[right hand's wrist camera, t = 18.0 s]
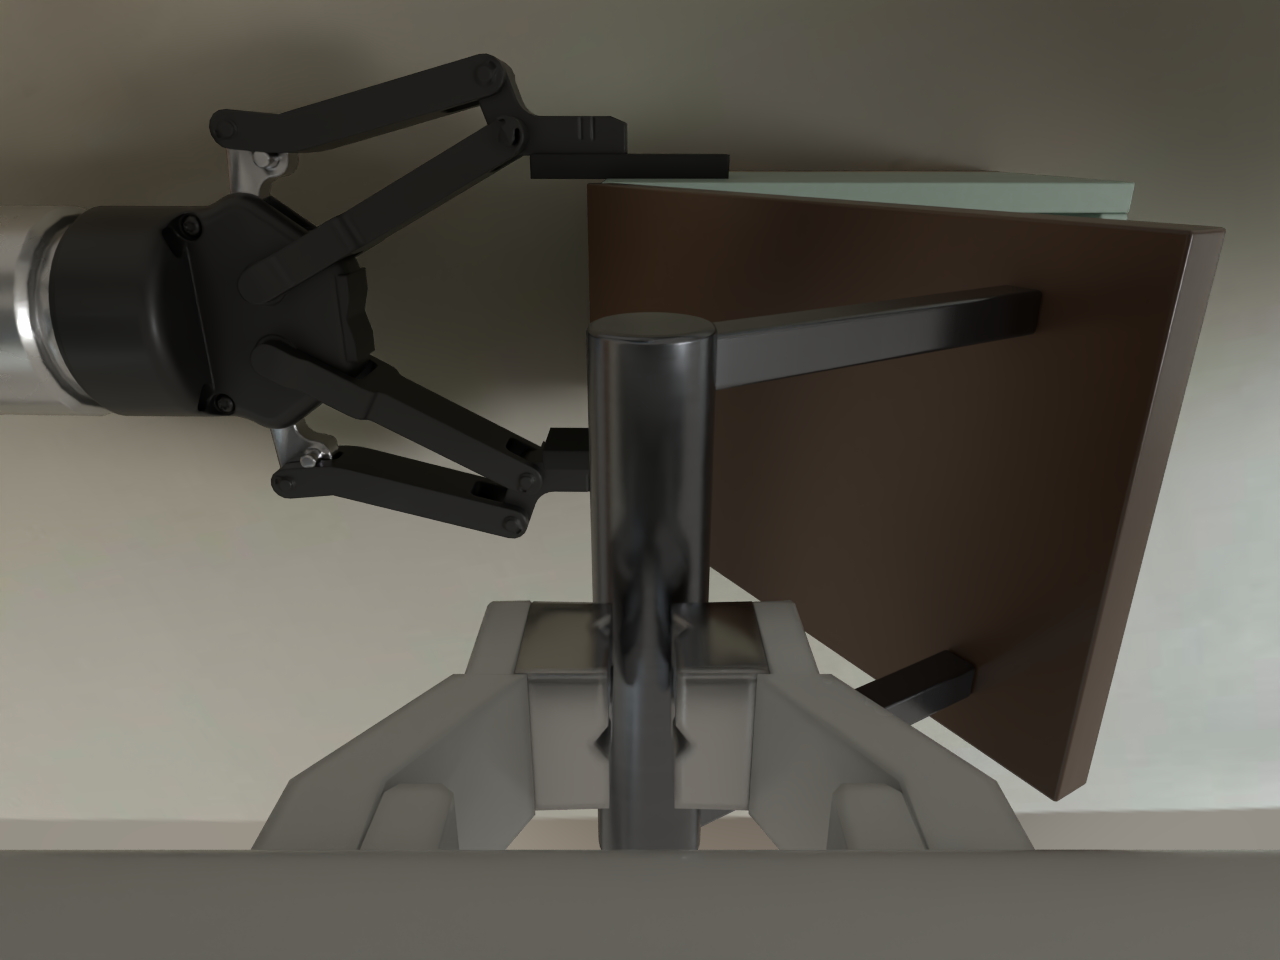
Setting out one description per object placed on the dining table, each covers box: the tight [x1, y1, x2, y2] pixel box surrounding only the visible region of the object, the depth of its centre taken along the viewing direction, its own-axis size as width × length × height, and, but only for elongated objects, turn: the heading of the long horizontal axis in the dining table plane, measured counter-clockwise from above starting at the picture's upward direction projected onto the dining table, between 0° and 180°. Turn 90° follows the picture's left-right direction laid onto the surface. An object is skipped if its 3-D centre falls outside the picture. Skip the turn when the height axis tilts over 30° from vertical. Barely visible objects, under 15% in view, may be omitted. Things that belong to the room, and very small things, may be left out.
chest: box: [602, 171, 1135, 220], centre depth 32 cm, size 16×10×11 cm, turn 90°
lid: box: [586, 183, 1226, 850], centre depth 18 cm, size 17×10×9 cm
